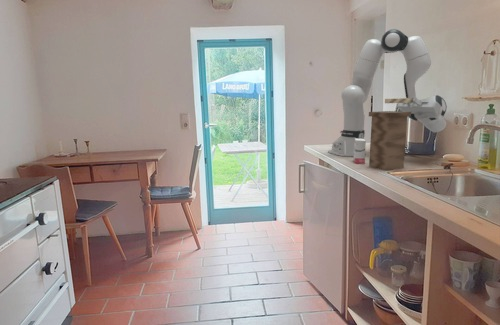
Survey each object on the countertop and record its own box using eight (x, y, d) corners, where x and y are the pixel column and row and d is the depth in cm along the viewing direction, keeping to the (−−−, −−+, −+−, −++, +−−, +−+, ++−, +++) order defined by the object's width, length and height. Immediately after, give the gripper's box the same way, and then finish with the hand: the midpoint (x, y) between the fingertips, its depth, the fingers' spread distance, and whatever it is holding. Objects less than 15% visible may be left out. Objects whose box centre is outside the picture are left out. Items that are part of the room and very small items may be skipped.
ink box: (364, 163, 175) (366, 140, 173) (354, 163, 176) (355, 140, 174) (363, 160, 183) (364, 138, 181) (353, 160, 184) (354, 138, 182)
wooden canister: (365, 166, 168) (368, 111, 163) (385, 163, 175) (389, 111, 170) (386, 171, 158) (390, 112, 153) (406, 167, 165) (411, 111, 160)
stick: (388, 103, 158) (388, 98, 158) (384, 103, 160) (384, 98, 160) (416, 102, 168) (416, 98, 168) (412, 102, 170) (413, 98, 170)
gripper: (408, 106, 183) (393, 93, 176) (446, 107, 166) (432, 92, 159) (403, 117, 183) (389, 104, 176) (441, 119, 165) (426, 105, 158)
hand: (409, 99), depth 167 cm, fingers closed on stick, 2 cm apart
